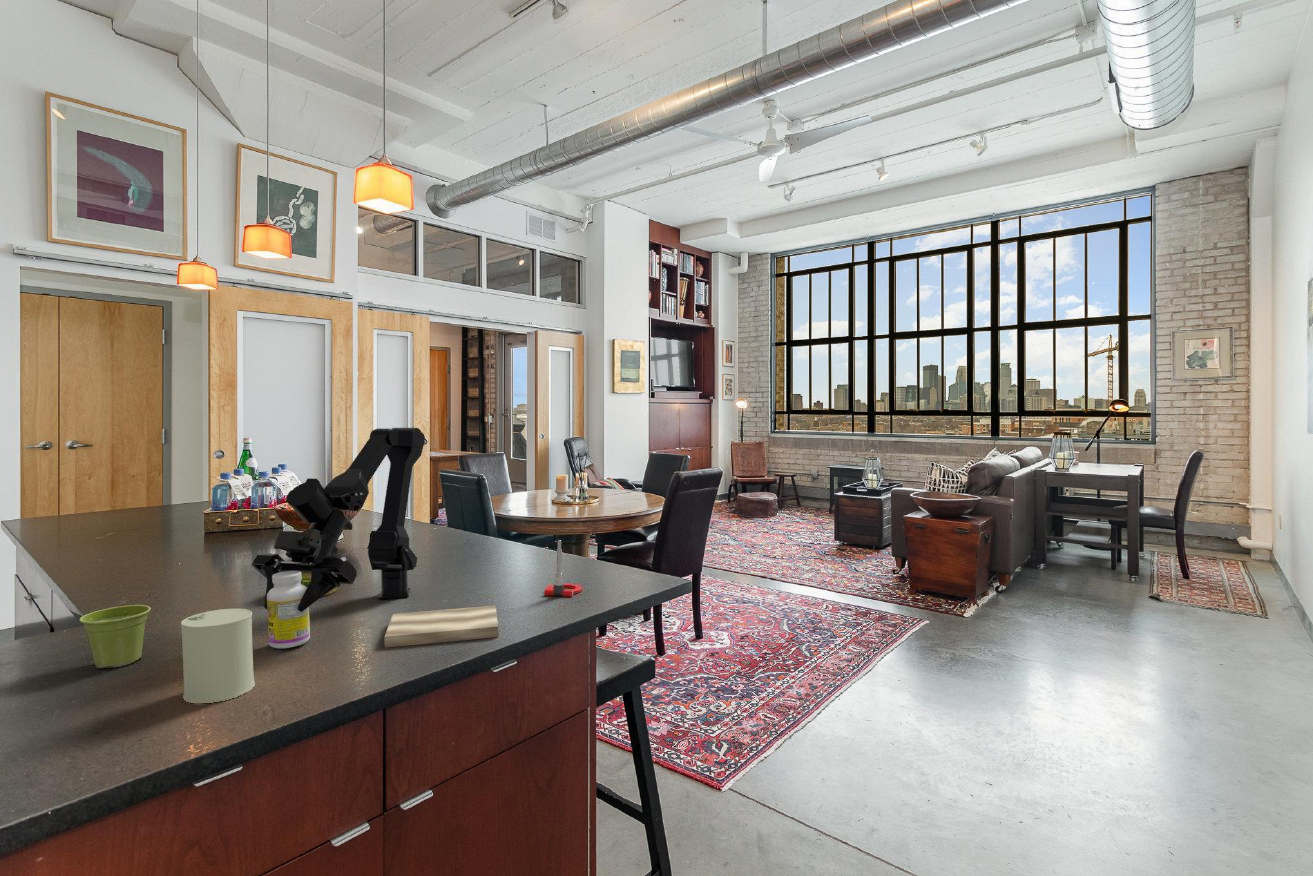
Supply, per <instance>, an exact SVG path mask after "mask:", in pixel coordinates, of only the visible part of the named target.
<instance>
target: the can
mask: <svg viewBox="0 0 1313 876" xmlns="http://www.w3.org/2000/svg"><path fill="white" fill-rule="evenodd" d="M252 618H253V612H252V610H249V609H246V608H224V609H223V608H221V609H214V610H209V611H204V612H200V613H196V614H193V615H191V616H188V617H186V618H184V619H183V620H181V622H180V627H181V639H182V642H181V643H182V644H181V645H182V665H183V667H182V668H183V671H182V672H183V696H182V699H183V698H184V700H186V701H188V702H191V703H212V704H214V703H213V702H218V703H220V702H219V701H223V702H226V701H225V700H227V701H229V699H230V700H233V699H232V698H234V699H236V698H238V696H239V697H241V696H244V695H245V694H244V693H246V692H247V693H249V692H251V690H253V689H254V688H255V686H256V683H255V678H254V677H255V676H254V660H253V659H254V657H253V656H254V655H253V654H254V652H253V624H252V623H253V619H252ZM253 687H254V688H253ZM247 693H246V694H247ZM243 694H244V695H243ZM240 695H241V696H240ZM184 700H183V701H184Z"/></svg>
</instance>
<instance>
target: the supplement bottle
mask: <svg viewBox="0 0 1313 876" xmlns="http://www.w3.org/2000/svg"><path fill="white" fill-rule="evenodd" d="M301 579H302V574H301V572H300V571H285V572H279V573H276V574H274V575H272V582H273V584H274V588H272V589H271V590H270V591H269V592H268V594H267V612H266V613H267V632H268V633H267V635H268V637H267V638H268V645H269V647H271V648H274V649H289V648H294V647H298V646H299V647H300V646H302V645H303V644H306V643H307V642H308V641H309V640H310V639H311V630H310V629H311V627H310V625H311V624H310V623H311V622H310V608H309V607H310V606H309V607H308V608H307V609H305V610H304V611H303V612H300V611H299V610H298V606H299V604H300V601H301V599H302V597H303V595H304V593H305V591H306V589H307V587H306V586H305V585H302V584H301Z"/></svg>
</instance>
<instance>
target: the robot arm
mask: <svg viewBox="0 0 1313 876" xmlns="http://www.w3.org/2000/svg"><path fill="white" fill-rule="evenodd" d="M425 437H426V436H425V434H424V433H423V432H422V431H421V428H418V427H391V428H375V429H373V430H371V432H370V434H369V438H368V440H367V441H366V443H365V444H364V445H363V447H362V448H361V450H359V453H358V454H357V456H356V457H355V458H354V460H353V461H352V462H351V463H350V466H349V467H348V468H347V469H346V470H345V471H344V472H343V473H341V474H340V473H339V475H337V476H335V477H333V478H332V479H331V480H330V481H329V482H328V483H327V484H326V485H325V487H323V486H322V484H321V481H320V480H319V479H318V478H312V477H311V478H306V480H305V482H302V483H300V484H298V485H297V486H295V487H294V488H293V489H292V490H290V491H289V492H288V493H287V495H286V503H287V505H289V506H290V507H291V508H292V509H293V510H294V512H295V513H297V516H299V517H300V518H301V520H303V521H304V522H305V523H308V524H310V526H309V528H307V529H305V531H304V532H303V531H293V530H278V531H277V534H276V535H277V536H276V538H275V542H274V545H273V549H276V550H282V551H285V556H286V557H287V558H289V559H290V558H291V561H286V560H284V558H283V557H282V556H281V555H279V553H260V554H257V555H256V556H255V558H254V560H253V561H252V563H251V566H252V567H253V568H254V569H255V570H256V571H258V572H259V573H260V574H261V575H262V576H263V577H264V578H265V579H266V589H265V596H264V597H265V598H264V604H263V608H264V609H265V610H267V594H268V592H269V591H270V590H271V589H272V588H274V584H273V582H272V575H274V574H276V573H279V572H285V571H300V572H301V573H311V581H310V583H309V585H308V587H307V589H306V591H305V593H304V595H303V597H302V599H301V601H300V604H299V606H298V610H299V611H300V612H303V611H304V610H305V609H307V608H308V607H311V606H312V605H313V604H314V603H315V602H317V601H318V600H319V599H320V598H322V597H324V596H323V595H325V594H326V593H328V592H329V591H331V590H332V589H334V588H336V587H337V588H340V587H341V585H353V584H354V582H355V580H356V578H357V576H358V575H357V574H358V573H357V569H356V568H355V567H354V565H352V564H353V563H351V562H350V561H349V560H348V558H347V557H346V556H334V555H336V554H337V553H338V550H339V548H338V547H337V546H336V545H337V542H338V541H339V539H340V537H341V535H342V533H343V531H345V530H346V531H352V530H353V523H352V522H351V517H350V516H349V515H348V516H346V514H345V513H344V512H358V511H360V510H362V508H363V507H364V504H365V502H366V500H367V498H368V496H369V494H370V491H369V483H370V481H371V479H372V478H373V477H374V475H375V474H376V472H377V470H378V468H379V467H381V466H380V465H381V464H382V463H383V461H384V460H385V459H386V456H387V458H388V461H389V463H390V464H389V471H388V477H387V485H386V490H385V497H384V502H383V504H384V505H383V512H382V518H381V523H380V525H379V527H378V528H376V530H372V531H371V532H370V533H369V541H368V545H367V557H368V560H369V564H370V567H371V570H372V571H380V582H381V584H380V585H381V587H380V588H381V590H380V592H379V594H378V596H377V597H378V598H377V599H378V600H388V599H389V600H390V599H399V598H409V596H410V593H411V590H412V588H411V587H409V583H408V581H409V580H408V578H409V577H408V576H409V575H408V571H413V570H414V569H415V568H416V567H417V563H418V557H417V555H416V554H415V553H414V551H413V550H412V549H411V548H410V536H409V535H408V532H407V531H406V530H407V529H406V528H405V523H406V522H405V521H406V514H407V508H408V502H409V494H410V487H411V480H412V473H413V467H414V464H416V462H418V460H419V458H421V456H422V453H423V449H424V446H425V443H426V438H425ZM333 554H334V555H333ZM332 555H333V556H332ZM325 596H326V595H325Z"/></svg>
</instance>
